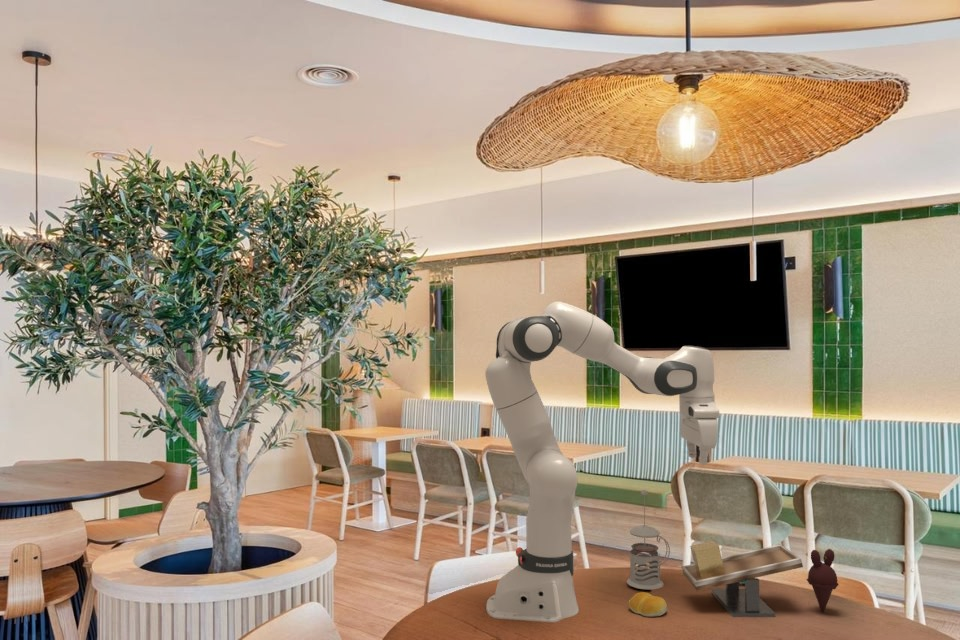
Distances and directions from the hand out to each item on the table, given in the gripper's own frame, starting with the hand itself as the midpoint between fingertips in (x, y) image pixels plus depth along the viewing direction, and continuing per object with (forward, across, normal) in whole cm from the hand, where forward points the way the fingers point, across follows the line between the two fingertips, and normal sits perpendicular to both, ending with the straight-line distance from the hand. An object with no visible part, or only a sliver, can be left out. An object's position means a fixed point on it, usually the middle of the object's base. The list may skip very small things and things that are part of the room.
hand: (697, 460), depth 183 cm
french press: (+34, -7, -12) cm, 37 cm away
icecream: (+34, +13, +26) cm, 45 cm away
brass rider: (+26, +9, 0) cm, 28 cm away
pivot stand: (+34, +9, +8) cm, 36 cm away
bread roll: (+35, +14, -13) cm, 39 cm away
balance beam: (+26, +9, +8) cm, 29 cm away
